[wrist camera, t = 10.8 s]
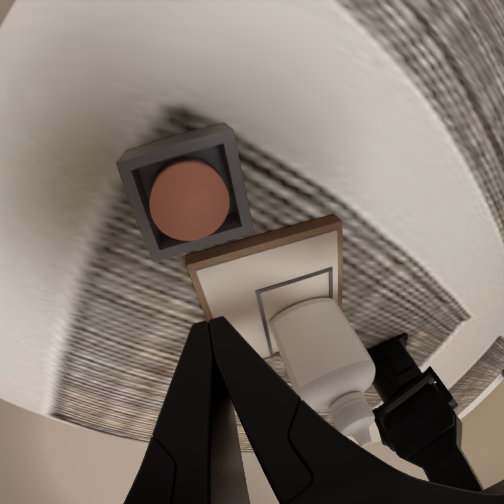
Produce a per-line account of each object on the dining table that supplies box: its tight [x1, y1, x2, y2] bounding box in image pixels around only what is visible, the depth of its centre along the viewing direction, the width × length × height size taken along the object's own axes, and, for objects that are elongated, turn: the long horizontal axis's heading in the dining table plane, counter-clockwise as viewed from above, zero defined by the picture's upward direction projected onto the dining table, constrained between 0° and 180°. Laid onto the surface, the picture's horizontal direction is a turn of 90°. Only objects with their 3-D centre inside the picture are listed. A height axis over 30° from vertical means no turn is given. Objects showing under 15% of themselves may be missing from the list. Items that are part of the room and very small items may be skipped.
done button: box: [150, 157, 229, 241], centre depth 16 cm, size 4×4×2 cm
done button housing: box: [116, 123, 254, 262], centre depth 17 cm, size 6×6×3 cm
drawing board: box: [185, 214, 342, 359], centre depth 24 cm, size 12×11×2 cm
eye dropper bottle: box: [271, 298, 375, 447], centre depth 19 cm, size 4×6×12 cm
